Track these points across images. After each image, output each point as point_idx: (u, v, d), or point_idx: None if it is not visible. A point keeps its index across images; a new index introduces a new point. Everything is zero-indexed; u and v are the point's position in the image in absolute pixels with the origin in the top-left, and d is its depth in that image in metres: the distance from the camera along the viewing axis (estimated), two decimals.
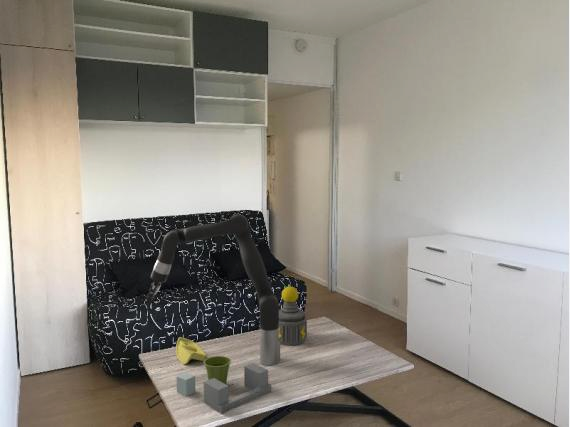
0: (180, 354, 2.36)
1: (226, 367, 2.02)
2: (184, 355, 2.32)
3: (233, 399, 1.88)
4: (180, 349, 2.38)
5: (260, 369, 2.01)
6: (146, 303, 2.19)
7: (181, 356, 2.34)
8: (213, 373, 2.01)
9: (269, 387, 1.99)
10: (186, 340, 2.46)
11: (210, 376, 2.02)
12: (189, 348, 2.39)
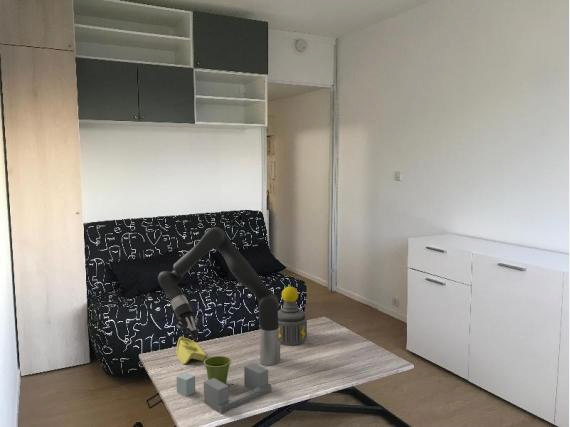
0: (180, 353, 2.36)
1: (226, 367, 2.02)
2: (184, 355, 2.33)
3: (233, 399, 1.88)
4: (180, 348, 2.39)
5: (260, 369, 2.01)
6: None
7: (181, 356, 2.34)
8: (213, 373, 2.01)
9: (269, 387, 1.99)
10: (187, 340, 2.47)
11: (210, 376, 2.02)
12: (189, 348, 2.40)
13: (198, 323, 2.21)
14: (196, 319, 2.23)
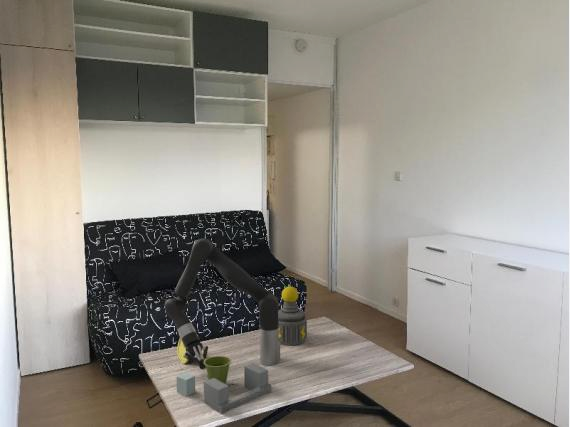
0: (181, 353, 2.37)
1: (226, 367, 2.02)
2: None
3: (233, 399, 1.88)
4: (181, 348, 2.39)
5: (260, 369, 2.01)
6: (201, 369, 2.13)
7: (181, 355, 2.35)
8: (213, 373, 2.01)
9: (269, 387, 1.99)
10: None
11: (210, 376, 2.02)
12: None
13: (206, 352, 2.18)
14: (203, 348, 2.20)
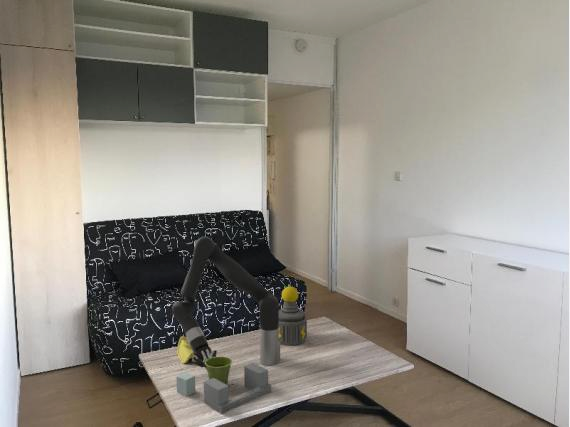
0: (181, 353, 2.37)
1: (227, 368, 2.01)
2: (184, 354, 2.34)
3: (233, 399, 1.88)
4: (181, 348, 2.40)
5: (260, 369, 2.01)
6: None
7: (181, 355, 2.35)
8: (214, 374, 2.00)
9: (269, 387, 1.99)
10: None
11: (211, 377, 2.01)
12: (190, 347, 2.40)
13: (214, 356, 2.13)
14: (212, 352, 2.15)
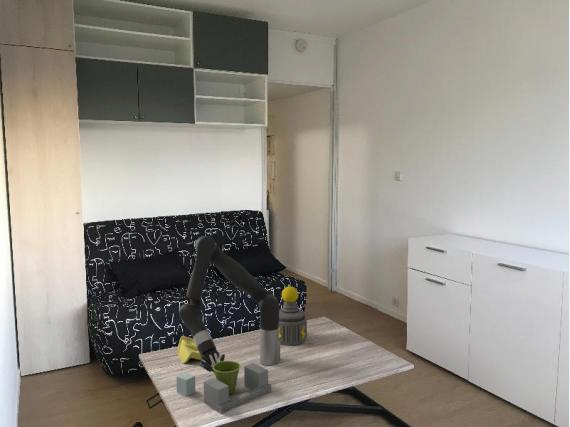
0: (181, 353, 2.37)
1: (235, 373, 1.96)
2: (184, 354, 2.34)
3: (233, 399, 1.88)
4: (181, 347, 2.40)
5: (260, 369, 2.01)
6: None
7: (182, 355, 2.35)
8: (221, 379, 1.95)
9: (269, 387, 1.99)
10: (189, 339, 2.48)
11: None
12: (191, 347, 2.40)
13: None
14: (220, 356, 2.10)
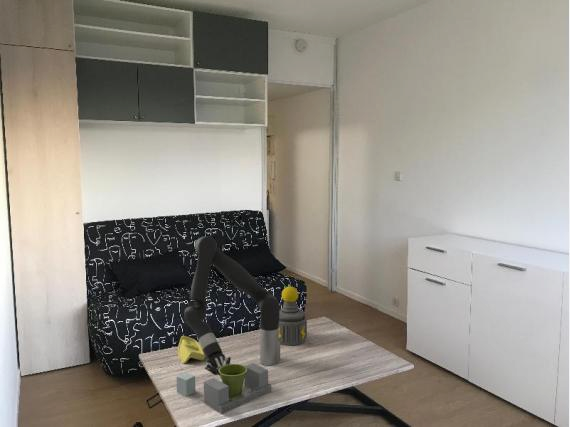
0: (181, 352, 2.37)
1: (242, 376, 1.93)
2: (184, 354, 2.34)
3: (233, 399, 1.88)
4: (181, 347, 2.40)
5: (260, 369, 2.01)
6: None
7: (182, 355, 2.36)
8: (227, 382, 1.92)
9: (269, 387, 1.99)
10: (189, 339, 2.48)
11: None
12: (191, 347, 2.41)
13: None
14: (226, 359, 2.07)
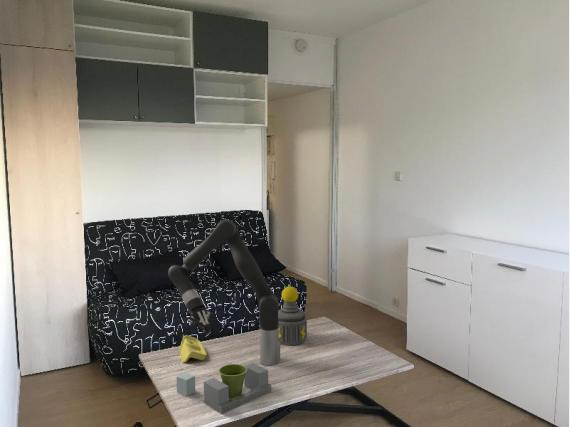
0: (182, 352, 2.38)
1: (242, 376, 1.93)
2: (185, 353, 2.35)
3: (233, 399, 1.88)
4: (183, 346, 2.41)
5: (260, 369, 2.01)
6: (206, 333, 2.12)
7: (183, 354, 2.36)
8: (227, 382, 1.92)
9: (269, 387, 1.99)
10: (192, 338, 2.48)
11: None
12: (192, 346, 2.41)
13: (210, 317, 2.17)
14: (208, 313, 2.19)
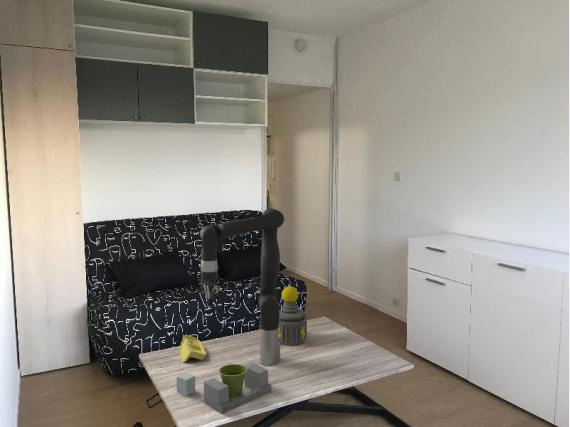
0: (182, 351, 2.39)
1: (242, 376, 1.93)
2: (185, 353, 2.35)
3: (233, 399, 1.88)
4: (183, 346, 2.42)
5: (260, 369, 2.01)
6: (209, 305, 2.17)
7: (183, 354, 2.37)
8: (227, 382, 1.92)
9: (269, 387, 1.99)
10: (192, 338, 2.49)
11: None
12: (192, 346, 2.42)
13: None
14: None
